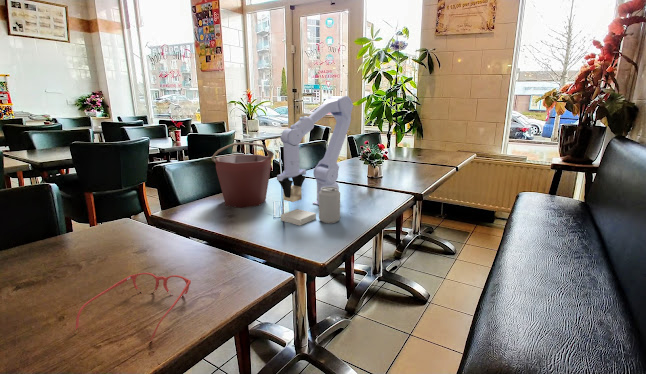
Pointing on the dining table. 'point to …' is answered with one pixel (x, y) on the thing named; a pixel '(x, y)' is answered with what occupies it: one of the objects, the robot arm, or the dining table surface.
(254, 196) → the bucket
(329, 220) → the can
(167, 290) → the red eyeglasses
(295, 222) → the coaster
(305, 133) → the robot arm
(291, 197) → the cube
